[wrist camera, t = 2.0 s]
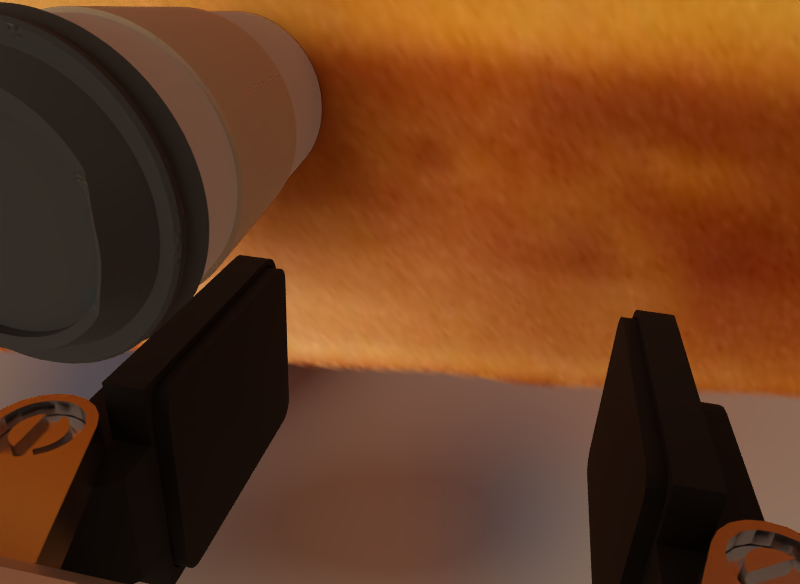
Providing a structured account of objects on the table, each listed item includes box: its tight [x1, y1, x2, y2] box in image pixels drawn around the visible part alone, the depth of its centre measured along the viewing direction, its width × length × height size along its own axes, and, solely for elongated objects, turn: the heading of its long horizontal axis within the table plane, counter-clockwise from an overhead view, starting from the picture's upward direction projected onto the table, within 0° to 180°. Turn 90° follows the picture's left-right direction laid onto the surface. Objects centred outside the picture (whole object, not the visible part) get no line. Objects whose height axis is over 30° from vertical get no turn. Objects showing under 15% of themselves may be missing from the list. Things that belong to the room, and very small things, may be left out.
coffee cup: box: [0, 2, 322, 363], centre depth 22 cm, size 9×9×15 cm
